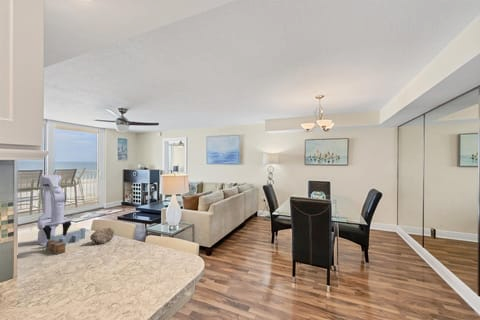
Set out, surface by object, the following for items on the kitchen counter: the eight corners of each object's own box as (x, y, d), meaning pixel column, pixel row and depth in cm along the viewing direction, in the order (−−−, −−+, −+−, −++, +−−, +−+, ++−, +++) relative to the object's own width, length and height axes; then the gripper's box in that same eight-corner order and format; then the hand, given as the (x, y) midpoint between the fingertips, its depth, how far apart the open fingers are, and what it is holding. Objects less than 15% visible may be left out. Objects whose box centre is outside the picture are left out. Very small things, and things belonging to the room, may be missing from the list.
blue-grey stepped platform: (48, 247, 128) (48, 236, 129) (83, 237, 146) (83, 227, 146) (52, 248, 126) (52, 237, 126) (87, 238, 144) (87, 228, 144)
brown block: (46, 250, 123) (46, 241, 124) (53, 248, 127) (53, 240, 127) (57, 254, 118) (58, 245, 118) (65, 252, 121) (65, 243, 121)
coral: (98, 246, 131) (92, 232, 131) (90, 249, 135) (85, 234, 135) (119, 236, 143) (114, 223, 143) (111, 239, 147) (107, 226, 148)
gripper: (45, 217, 115) (44, 242, 114) (75, 212, 128) (74, 234, 127) (39, 215, 118) (38, 240, 117) (69, 211, 131) (68, 233, 130)
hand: (56, 237), depth 122 cm, fingers open, 7 cm apart
